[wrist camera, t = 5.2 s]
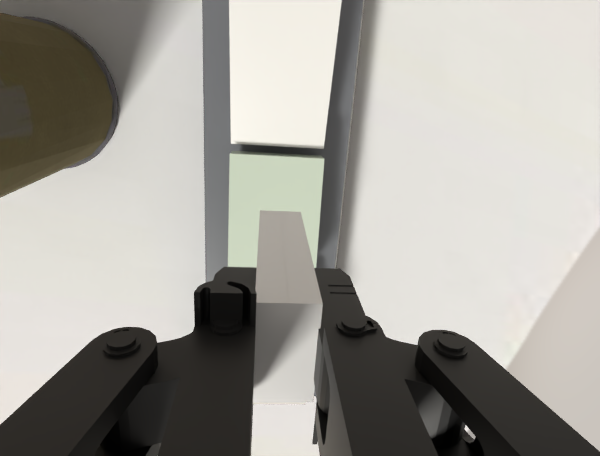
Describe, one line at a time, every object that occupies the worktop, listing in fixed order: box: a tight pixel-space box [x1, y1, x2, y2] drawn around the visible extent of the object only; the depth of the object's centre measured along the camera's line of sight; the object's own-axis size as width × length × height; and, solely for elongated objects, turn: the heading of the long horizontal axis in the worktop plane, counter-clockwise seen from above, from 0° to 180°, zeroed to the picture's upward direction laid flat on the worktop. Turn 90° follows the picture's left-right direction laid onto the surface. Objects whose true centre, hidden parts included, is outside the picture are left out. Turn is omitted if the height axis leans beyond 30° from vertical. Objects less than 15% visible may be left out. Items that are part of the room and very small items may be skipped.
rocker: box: [229, 0, 342, 149], centre depth 25 cm, size 6×9×2 cm, turn 176°
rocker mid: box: [228, 151, 324, 268], centre depth 28 cm, size 6×9×2 cm, turn 176°
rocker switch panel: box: [202, 0, 365, 396], centre depth 32 cm, size 10×34×5 cm, turn 176°
